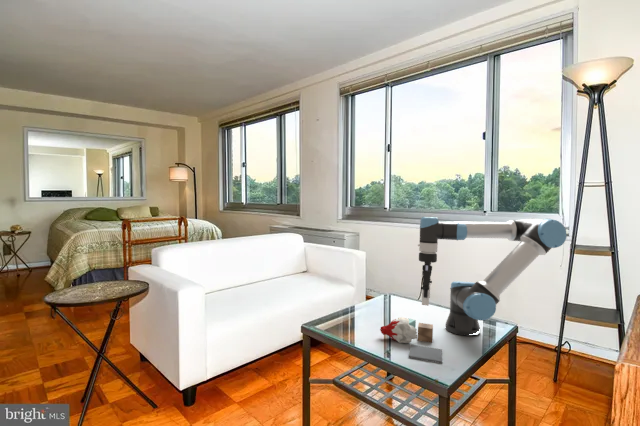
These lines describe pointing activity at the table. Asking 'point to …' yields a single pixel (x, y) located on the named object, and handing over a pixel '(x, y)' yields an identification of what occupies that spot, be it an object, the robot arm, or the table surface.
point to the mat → (425, 353)
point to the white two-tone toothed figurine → (400, 331)
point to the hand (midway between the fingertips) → (425, 301)
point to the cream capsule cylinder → (404, 319)
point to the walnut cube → (425, 332)
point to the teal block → (412, 322)
